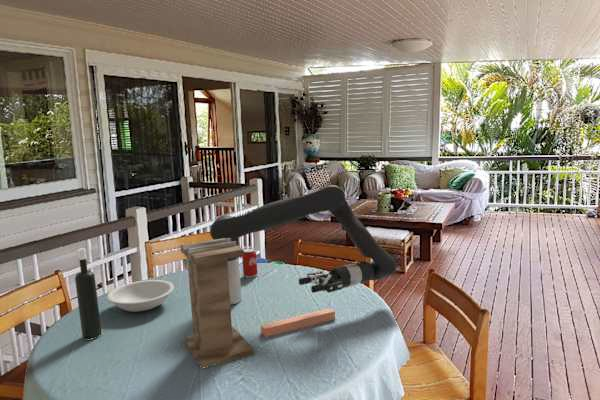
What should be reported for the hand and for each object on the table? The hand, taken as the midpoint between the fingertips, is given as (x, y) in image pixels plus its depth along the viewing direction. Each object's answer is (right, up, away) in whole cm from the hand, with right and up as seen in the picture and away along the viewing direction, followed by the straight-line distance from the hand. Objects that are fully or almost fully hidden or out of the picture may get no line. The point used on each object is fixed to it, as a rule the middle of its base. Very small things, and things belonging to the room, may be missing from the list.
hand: (305, 285), depth 153 cm
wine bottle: (-71, -17, -1) cm, 73 cm away
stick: (-2, -14, +1) cm, 14 cm away
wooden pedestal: (-27, -17, -12) cm, 34 cm away
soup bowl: (-62, -13, +22) cm, 67 cm away
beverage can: (-24, -6, +52) cm, 58 cm away
